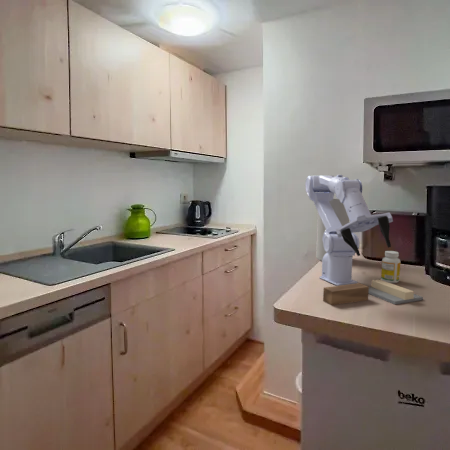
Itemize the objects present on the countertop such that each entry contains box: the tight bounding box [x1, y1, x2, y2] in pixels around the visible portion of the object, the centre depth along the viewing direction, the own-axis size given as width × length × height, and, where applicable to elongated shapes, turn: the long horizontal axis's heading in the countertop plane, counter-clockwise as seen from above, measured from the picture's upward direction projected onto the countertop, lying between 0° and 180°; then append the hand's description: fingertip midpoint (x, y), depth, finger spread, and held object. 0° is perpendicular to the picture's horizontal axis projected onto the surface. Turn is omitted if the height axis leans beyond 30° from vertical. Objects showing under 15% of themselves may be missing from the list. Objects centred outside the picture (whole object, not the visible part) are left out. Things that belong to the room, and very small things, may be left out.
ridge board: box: [368, 278, 424, 305], centre depth 95 cm, size 12×10×3 cm
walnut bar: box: [322, 282, 370, 306], centre depth 91 cm, size 4×12×4 cm, turn 110°
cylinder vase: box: [315, 198, 350, 262], centre depth 138 cm, size 12×12×25 cm
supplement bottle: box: [380, 250, 401, 284], centre depth 109 cm, size 5×5×10 cm
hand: (373, 249), depth 86 cm, fingers open, 7 cm apart
